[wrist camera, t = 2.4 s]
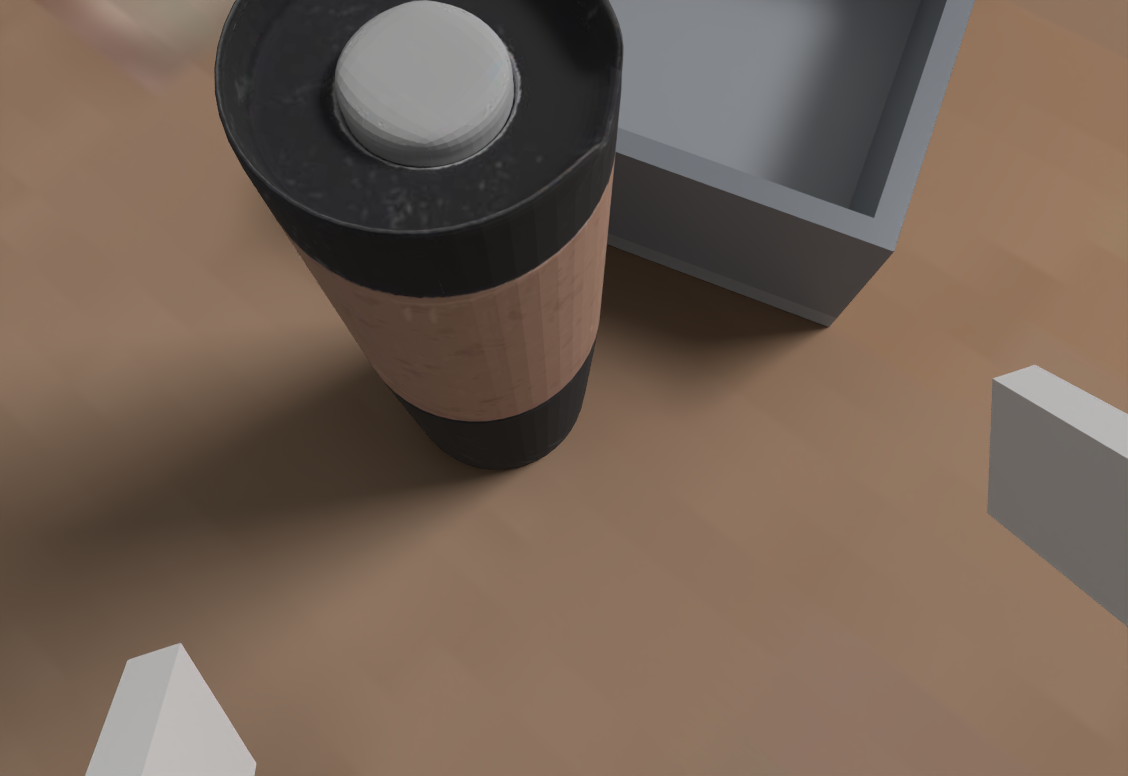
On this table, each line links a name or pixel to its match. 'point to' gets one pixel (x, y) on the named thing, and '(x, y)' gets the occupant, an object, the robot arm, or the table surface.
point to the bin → (776, 138)
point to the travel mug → (442, 193)
